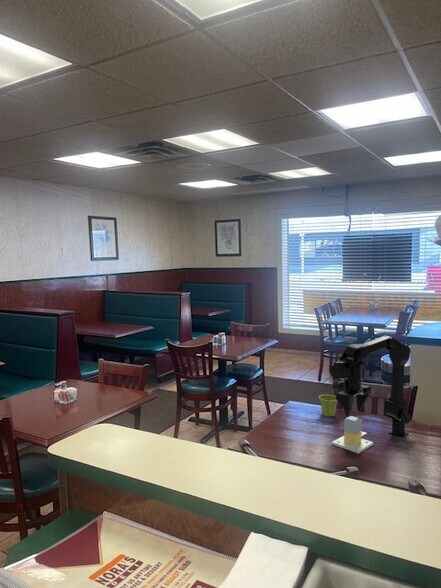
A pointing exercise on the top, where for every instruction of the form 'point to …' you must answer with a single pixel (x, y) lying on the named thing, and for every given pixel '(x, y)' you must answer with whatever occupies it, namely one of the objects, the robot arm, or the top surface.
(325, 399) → the plant pot
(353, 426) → the slate brick
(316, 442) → the top surface
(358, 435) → the yellow cube
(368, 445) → the base board
